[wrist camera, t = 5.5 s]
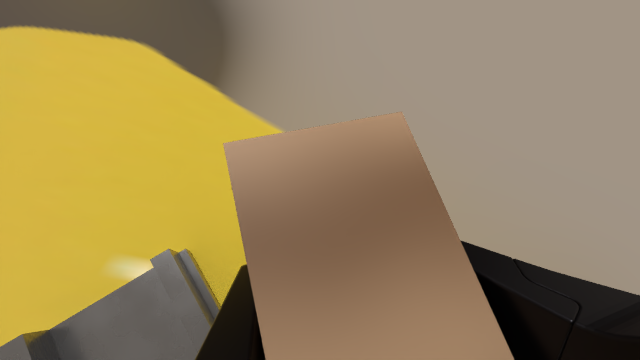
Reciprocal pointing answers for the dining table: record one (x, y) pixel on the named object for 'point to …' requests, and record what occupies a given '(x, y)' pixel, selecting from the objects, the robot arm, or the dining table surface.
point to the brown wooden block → (355, 248)
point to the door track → (133, 319)
